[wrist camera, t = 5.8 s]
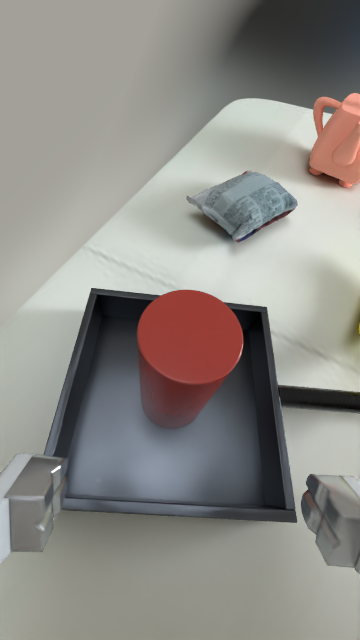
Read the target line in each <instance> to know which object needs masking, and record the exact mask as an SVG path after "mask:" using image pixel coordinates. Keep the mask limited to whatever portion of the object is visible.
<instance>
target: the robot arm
mask: <svg viewBox="0 0 360 640" xmlns="http://www.w3.org/2000/svg"><path fill="white" fill-rule="evenodd" d="M67 468H68V459H67V458H66V457H60V456H49V455H39V454H35V455H34V454H25V453H19V454H17V455H15V456H14V457H13V459H12V460H11V461H10V463H9V464H8V465H7V466H6V468H5V469H4V470H3V472H2V473H1V474H0V563H1V562H3V561H4V560H5V559H6V558H7V557H8V556H9V555H10V554H11V551H15V552H43V550H44V548H45V546H46V543H47V541H48V539H49V536H50V534H51V532H52V529H53V518H55V517H56V516H57V515H58V514H59V513H60V511H61V508H62V506H63V503H64V499H65V496H66V491H67V478H66V477H65V475H64V474H65V472H66V470H67ZM306 485H307V487H308V490H307V491H306V492H305V493H304V494H303V496H302V500H301V509H302V514H303V518H304V520H305V523H306V525H307V527H308V528H309V529H310V530H311V531H312V532H313V533H315V534H316V541H315V542H316V544H317V546H318V548H319V550H320V552H321V554H322V556H323V558H324V560H325V562H326V564H327V565H328V566H340V567H352V568H355V570H356V571H357V572H358V573H359V574H360V481H359V480H358V479H357V478H355V477H354V476H334V475H317V474H310V475H309V476H308V477H307V481H306Z"/></svg>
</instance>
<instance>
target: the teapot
mask: <svg viewBox="0 0 360 640" xmlns="http://www.w3.org/2000/svg"><path fill="white" fill-rule="evenodd" d="M325 106H330V107H333V108H335V109H337V110H336V111H335V112H334V114H333V115H332V116H331V118H330V119H329V121H328V122H327V124H326V125H325V127H324V128H323V124H322V116H323V109H324V107H325ZM313 115H314V122H315V126H316V130H317V134H318V138H317V140H316V142H315V144H314V146H313V149H312V152H311V156H310V162H309V165H310V166H311V167H312V168H310V170H309V171H310V172H311V173H312V174H314V175H321V174H322V173H325V174H328V175H330V176H333V177H335V178H338V179H340V180H339V184H340V185H341V186H343V187H346V188H350V187H351V186H352V184H357V183H359V182H360V94H357V93H353V94H351V95H349V96H348V97H347V98H346V99H345V100H344V101H343V102H342V103H340V102H338V101H336V100H334V99H331V98H328V97H320V98H318V99H317V100H316V102H315V104H314V110H313Z"/></svg>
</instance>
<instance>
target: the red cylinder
mask: <svg viewBox="0 0 360 640" xmlns="http://www.w3.org/2000/svg"><path fill="white" fill-rule="evenodd" d="M137 342H138V359H139V376H140V393H141V404H142V408H143V410H144V412H145V414H146V416H147V417H148V418H149V419H150V420H151V421H152V422H153V423H154V424H156V425H158V426H160V427H163V428H167V429H177V428H181V427H184V426H186V425H188V424H189V423H191V422H192V421H193V420H194V419H195V418H196V416H197V415H198V414H199V413H200V411H201V410H202V409H203V407H204V406H205V405H206V403H207V402H208V401H209V400H210V398H211V397H212V396H213V394H214V393H215V392H216V390H217V389H218V388H219V387H220V385H221V384H222V383H223V381H224V380H225V379H226V377H227V376H228V375H229V373H230V372H231V371H232V370H233V368H234V367H235V365H236V364H237V363H238V361H239V359H240V357H241V353H242V350H243V333H242V329H241V326H240V323H239V321H238V319H237V317H236V316H235V314H234V313H233V312H232V310H231V309H230V308H229V307H228V306H227V305H226V304H224V303H223V302H222V301H221V300H219V299H217V298H216V297H214V296H212V295H209V294H207V293H204V292H200V291H195V290H178V291H172V292H169V293H166V294H164V295H162V296H160V297H158V298H157V299H155V300H154V301H153V302H151V303H150V304H149V305H148V306H147V308H146V309H145V310H144V312H143V314H142V315H141V318H140V320H139V323H138V328H137Z"/></svg>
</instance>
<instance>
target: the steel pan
mask: <svg viewBox="0 0 360 640" xmlns="http://www.w3.org/2000/svg"><path fill="white" fill-rule="evenodd" d="M158 297H160V295H151V294H142V293H133V292H124V291H114V290H105V289H96V288H91V292H90V295H89V298H88V302H87V305H86V309H85V312H84V316H83V319H82V323H81V326H80V330H79V333H78V337H77V340H76V344H75V347H74V351H73V354H72V358H71V361H70V365H69V368H68V371H67V375H66V378H65V382H64V385H63V389H62V392H61V396H60V399H59V403H58V406H57V410H56V413H55V417H54V420H53V424H52V427H51V431H50V434H49V438H48V441H47V445H46V448H45V451H44V455H49V456H60V457H66V458H67V459H68V468H67V470H66V472H65V474H64V475H65V477H66V478H67V491H66V496H65V499H64V503H63V506H62V508H61V510H73V511H91V512H109V513H127V514H145V515H163V516H181V517H200V518H218V519H236V520H254V521H272V522H290V523H297V517H296V511H295V503H294V496H293V489H292V482H291V475H290V468H289V461H288V454H287V446H286V439H285V432H284V425H283V418H282V411H281V407H286V408H298V409H310V410H322V411H333V412H345V413H357V414H360V392H353V391H342V390H331V389H319V388H308V387H297V386H286V385H278V383H277V376H276V368H275V361H274V354H273V347H272V340H271V333H270V326H269V319H268V313H267V307H262V306H253V305H243V304H234V303H225V302H223V303H224V304H226V305H227V306H228V307H229V308H230V309H231V310H232V312H233V313H234V314H235V316H236V317H237V319H238V321H239V323H240V326H241V329H242V333H243V350H242V353H241V357H240V359H239V361H238V363H237V364H236V365H235V367H234V368H233V370H232V371H231V372H230V373H229V375H228V376H227V377H226V379H225V380H224V381H223V383H222V384H221V385H220V387H219V388H218V389H217V390H216V392H215V393H214V394H213V396H212V397H211V398H210V400H209V401H208V402H207V403H206V405H205V406H204V407H203V409H202V410H201V411H200V413H199V414H198V415H197V416H196V418H195V419H194V420H193V421H192V422H191V423H189V424H188V425H186V426H184V427H181V428H177V429H167V428H163V427H160V426H158V425H156V424H154V423H153V422H152V421H151V420H150V419H149V418H148V417H147V416H146V414H145V412H144V410H143V408H142V404H141V393H140V376H139V359H138V342H137V328H138V323H139V320H140V318H141V315H142V314H143V312H144V310H145V309H146V308H147V306H148V305H149V304H150V303H151V302H153V301H154V300H155V299H157V298H158Z"/></svg>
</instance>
